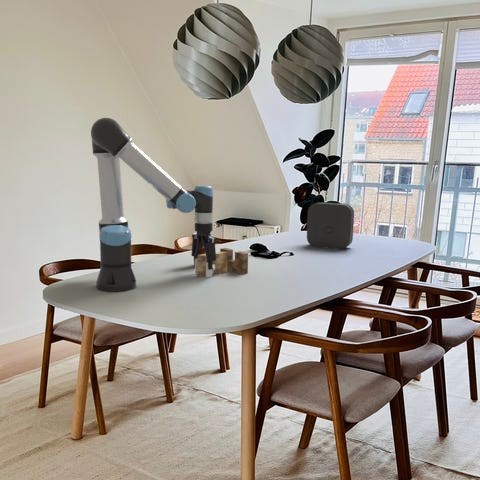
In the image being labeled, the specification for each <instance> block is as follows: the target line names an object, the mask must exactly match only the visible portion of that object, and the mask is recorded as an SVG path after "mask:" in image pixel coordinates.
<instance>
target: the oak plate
mask: <svg viewBox="0 0 480 480" xmlns="http://www.w3.org/2000/svg"><path fill="white" fill-rule="evenodd" d="M209 259H210V258H209ZM206 261H207V257H206V254H201V255H198V256H197V276H199V277H201V278H202V277H206ZM213 265H214V273H215V274H226V273H228V270H227V252H220V251H218V252H217V251H216V261H213Z"/></svg>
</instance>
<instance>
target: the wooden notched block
mask: <svg viewBox="0 0 480 480" xmlns="http://www.w3.org/2000/svg"><path fill="white" fill-rule="evenodd" d="M219 250H220V251H219V252H227V271H230V272H234V273H237V274H240V275H241V274H242V275H245V274H248V272H249V253H248V252H245V251H239V250H238V251H234V249H233V248H227V247H221V248H219ZM233 255H234V256H233Z"/></svg>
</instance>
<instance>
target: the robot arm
mask: <svg viewBox="0 0 480 480" xmlns="http://www.w3.org/2000/svg"><path fill="white" fill-rule="evenodd" d="M90 137H91V147H92V154H93V156H95V157H96V159H97V169H98V170H97V173H98V182H99V183H98V184H99V193H100V194H99V196H100V208H101V219H99V221H98V229H99V230H98V231H99V236H98V237H99V251H100V257H99V258H100V260H99V261H100V269H99V272H98V275H97V277H96V278H97V279H96V286H95V288H96V289H97V290H100V291H102V292H103V291H104V292H123V291H129V290H134V289H135V288H136V287H137V279H136V277H135V274H134V271H133V268H132V233H131V229H130V228H129V220H128V219H127V218H126V217H125V216H124V203H123V202H124V201H123V189H122V176H121V162H120V160H122V162H123V163H125V164H126V165H128V167H129V168H131V169H132V170H133V171H134V172H135V173H136V174H138V176H140V177H141V178H142V179H143V180H145V181H146V182H147V184H149V185H150V186H151V187H152V188H153V189H155V191H157V192H158V193H159V194H160V195H161V196H163V197H164V198H165V202H166V207H167V209H172V210H176V209H177V210H178V211H179V212H181V213H183V214H188V213H191V212H192V211H193V210H194V222H195V223H194V231H195V233H196V234H194V233H192V234H191V238H192V242H191V243H192V244H191V257H193V259H194V258H195V266H194V274H197V256H198V255H200V254H201V250H202V246H204V248H205V253H206V257H207V261H206V276H205V278H210V277H212V276H213V261H216V252H217V251H216V240H217V239H216V237H213V236H212V235H211V232H213V225H214V224H213V223H212V222H213V208H214V207H213V206H214V205H213V202H214V201H213V200H214V193H213V187H212V186H211V185H195V187H194V189H193V190H186V189H185V188H184V187H182V186H181V185H180V184H179V183H178V182H177V181H176V180H175V179H174V178H173V177H172V176H170V175H169V173H167V172H166V171H165V170H164V169H163V168H161V167H160V166H159V165H158V164H157V163H156V162H155V161H154V160H152V159H151V157H149V156H148V155H147V154H146V153H145V152H144V151H143V150H141V149H140V148H139V146H137V145H136V144H135V142H134V141H133V138H132V137H131V136H130V135H129V134H128V133H127V132H126V131H125V130H124V128H123V127H122V126H121V125H120V124H119V122H117V121H116V120H115V119H113V118H110V117H102V118H99V119H97V120H96V121H95V122H94V123H93V124H92V126H91V128H90ZM209 258H210V259H209Z"/></svg>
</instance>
